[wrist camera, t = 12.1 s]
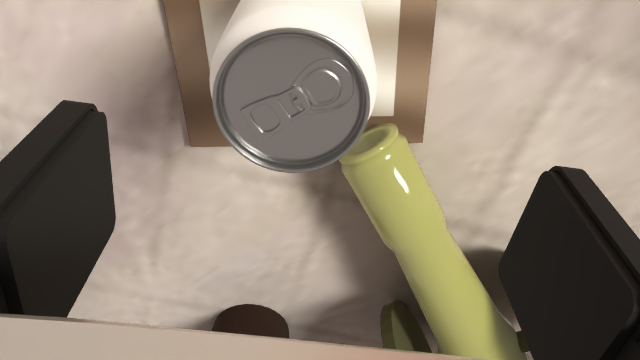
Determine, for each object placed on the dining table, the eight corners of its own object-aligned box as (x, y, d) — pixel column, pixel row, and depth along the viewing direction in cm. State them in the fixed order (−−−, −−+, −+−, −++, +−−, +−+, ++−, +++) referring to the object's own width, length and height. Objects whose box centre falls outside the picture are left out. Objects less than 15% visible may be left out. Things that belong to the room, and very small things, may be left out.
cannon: (281, 159, 33) (269, 290, 24) (451, 76, 30) (513, 189, 21) (427, 360, 46) (456, 496, 37) (558, 317, 43) (626, 454, 33)
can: (381, 35, 29) (412, 137, 19) (283, 87, 30) (264, 206, 20) (325, -76, 26) (327, -24, 16) (220, -10, 27) (161, 73, 17)
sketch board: (421, 138, 33) (422, 143, 32) (192, 143, 33) (190, 147, 33) (453, -181, 24) (455, -182, 23) (133, -172, 24) (129, -172, 23)
